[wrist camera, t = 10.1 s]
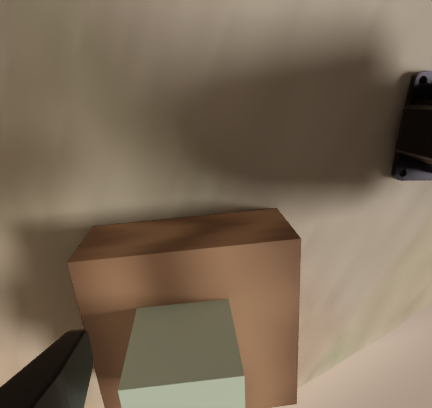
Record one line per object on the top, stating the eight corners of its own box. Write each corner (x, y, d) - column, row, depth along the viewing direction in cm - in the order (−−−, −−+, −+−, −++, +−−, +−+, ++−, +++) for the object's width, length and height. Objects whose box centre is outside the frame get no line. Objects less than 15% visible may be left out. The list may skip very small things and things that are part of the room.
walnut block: (275, 206, 21) (301, 238, 16) (276, 346, 25) (296, 403, 20) (94, 223, 20) (67, 262, 16) (125, 364, 24) (110, 429, 20)
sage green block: (228, 298, 17) (244, 375, 12) (231, 368, 19) (246, 458, 14) (136, 308, 17) (117, 390, 12) (148, 377, 19) (135, 473, 14)
